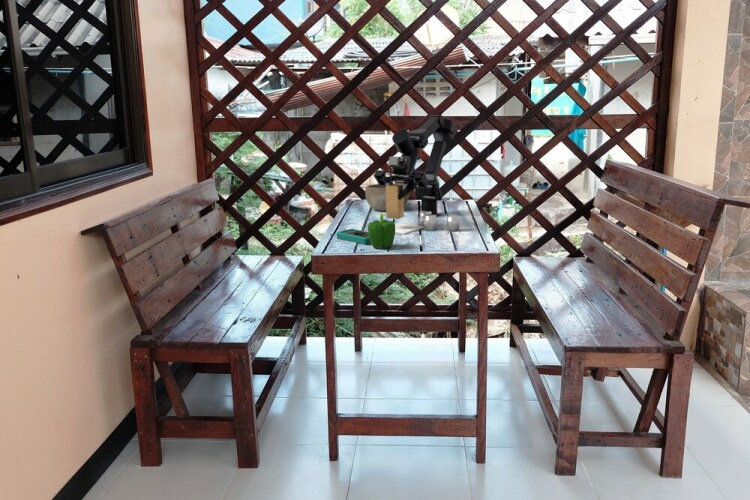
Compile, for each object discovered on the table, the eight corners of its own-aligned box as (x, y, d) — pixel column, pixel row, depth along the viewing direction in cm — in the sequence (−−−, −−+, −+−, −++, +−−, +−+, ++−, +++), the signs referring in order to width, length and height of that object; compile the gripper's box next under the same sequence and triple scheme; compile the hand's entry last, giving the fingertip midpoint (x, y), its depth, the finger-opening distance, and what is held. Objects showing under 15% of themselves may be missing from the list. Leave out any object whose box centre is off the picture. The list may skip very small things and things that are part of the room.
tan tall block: (392, 215, 224) (392, 183, 221) (404, 216, 222) (403, 184, 219) (386, 217, 220) (385, 185, 218) (398, 218, 218) (397, 186, 216)
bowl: (372, 205, 271) (371, 181, 269) (414, 206, 266) (413, 182, 264) (360, 213, 255) (359, 187, 253) (404, 214, 250) (404, 188, 248)
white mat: (390, 224, 232) (390, 222, 232) (423, 227, 224) (423, 226, 223) (370, 230, 222) (370, 228, 222) (404, 234, 214) (404, 232, 214)
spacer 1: (424, 224, 230) (424, 210, 229) (433, 225, 227) (433, 211, 226) (417, 225, 227) (417, 211, 226) (426, 227, 224) (426, 213, 223)
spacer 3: (451, 228, 221) (451, 214, 219) (461, 230, 218) (461, 215, 217) (445, 231, 218) (445, 216, 216) (455, 232, 215) (455, 217, 214)
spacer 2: (428, 228, 223) (428, 213, 222) (438, 229, 221) (438, 214, 220) (422, 230, 220) (421, 215, 219) (432, 231, 218) (432, 216, 216)
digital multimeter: (366, 246, 201) (366, 237, 200) (335, 239, 211) (335, 231, 211) (383, 242, 205) (383, 233, 205) (352, 236, 216) (352, 227, 215)
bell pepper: (390, 251, 192) (389, 217, 190) (364, 249, 196) (363, 216, 193) (400, 244, 200) (399, 212, 198) (375, 243, 203) (374, 211, 201)
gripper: (375, 146, 224) (359, 183, 217) (424, 147, 214) (409, 185, 208) (387, 167, 232) (372, 202, 225) (434, 168, 223) (420, 205, 216)
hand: (393, 198), depth 218 cm, fingers closed on tan tall block, 4 cm apart
